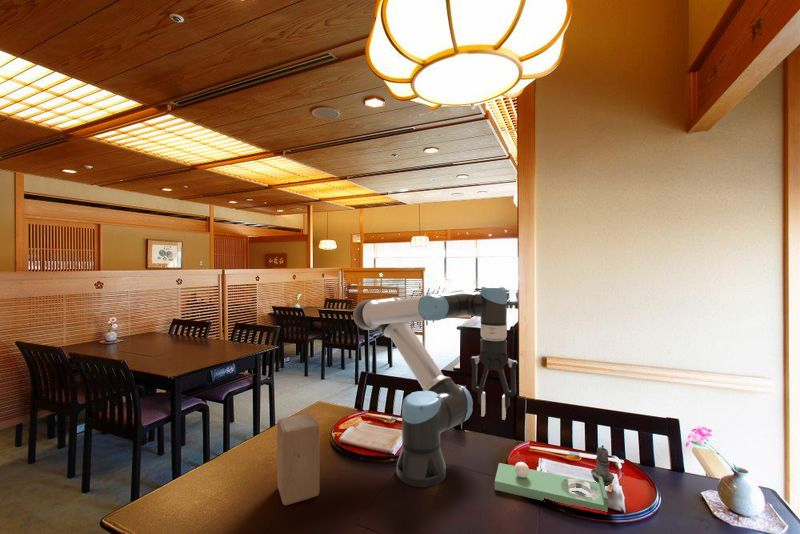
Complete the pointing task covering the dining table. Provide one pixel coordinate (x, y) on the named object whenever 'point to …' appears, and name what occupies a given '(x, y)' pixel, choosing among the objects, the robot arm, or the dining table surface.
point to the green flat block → (551, 487)
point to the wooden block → (298, 458)
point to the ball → (521, 469)
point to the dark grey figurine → (602, 467)
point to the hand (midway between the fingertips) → (493, 416)
